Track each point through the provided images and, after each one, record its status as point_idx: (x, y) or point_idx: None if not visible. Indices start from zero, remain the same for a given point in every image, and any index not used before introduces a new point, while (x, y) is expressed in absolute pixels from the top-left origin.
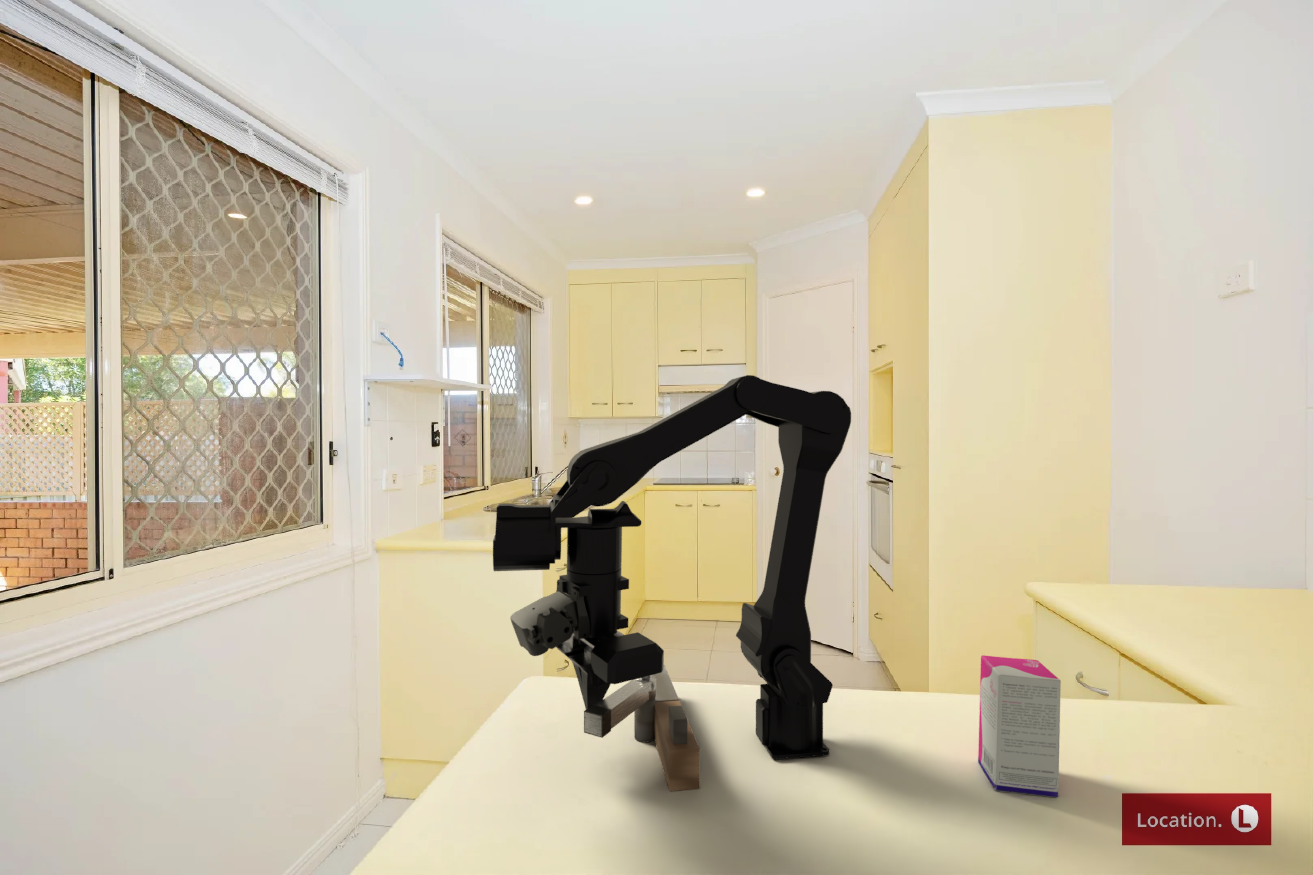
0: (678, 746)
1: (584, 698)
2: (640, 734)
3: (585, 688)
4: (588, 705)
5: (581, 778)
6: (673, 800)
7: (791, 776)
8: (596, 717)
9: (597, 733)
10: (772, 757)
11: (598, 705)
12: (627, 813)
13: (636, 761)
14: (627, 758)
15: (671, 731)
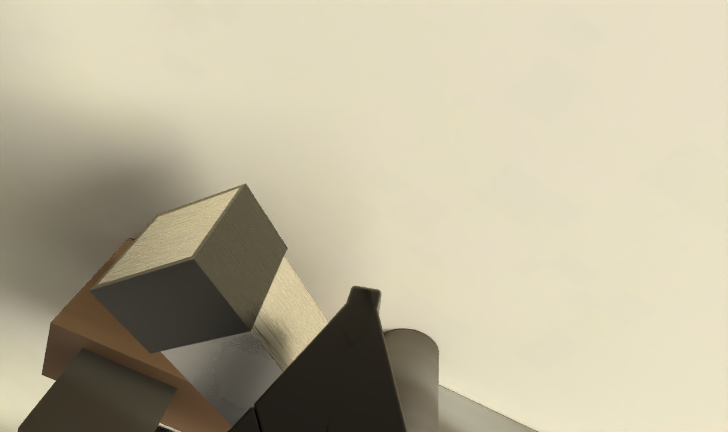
0: (67, 349)
1: (356, 345)
2: (391, 348)
3: (284, 407)
4: (332, 321)
5: (316, 90)
6: (87, 220)
7: None
8: (133, 268)
9: (169, 215)
10: (157, 430)
11: (243, 344)
12: (64, 93)
13: (307, 266)
14: (337, 260)
15: (105, 386)
